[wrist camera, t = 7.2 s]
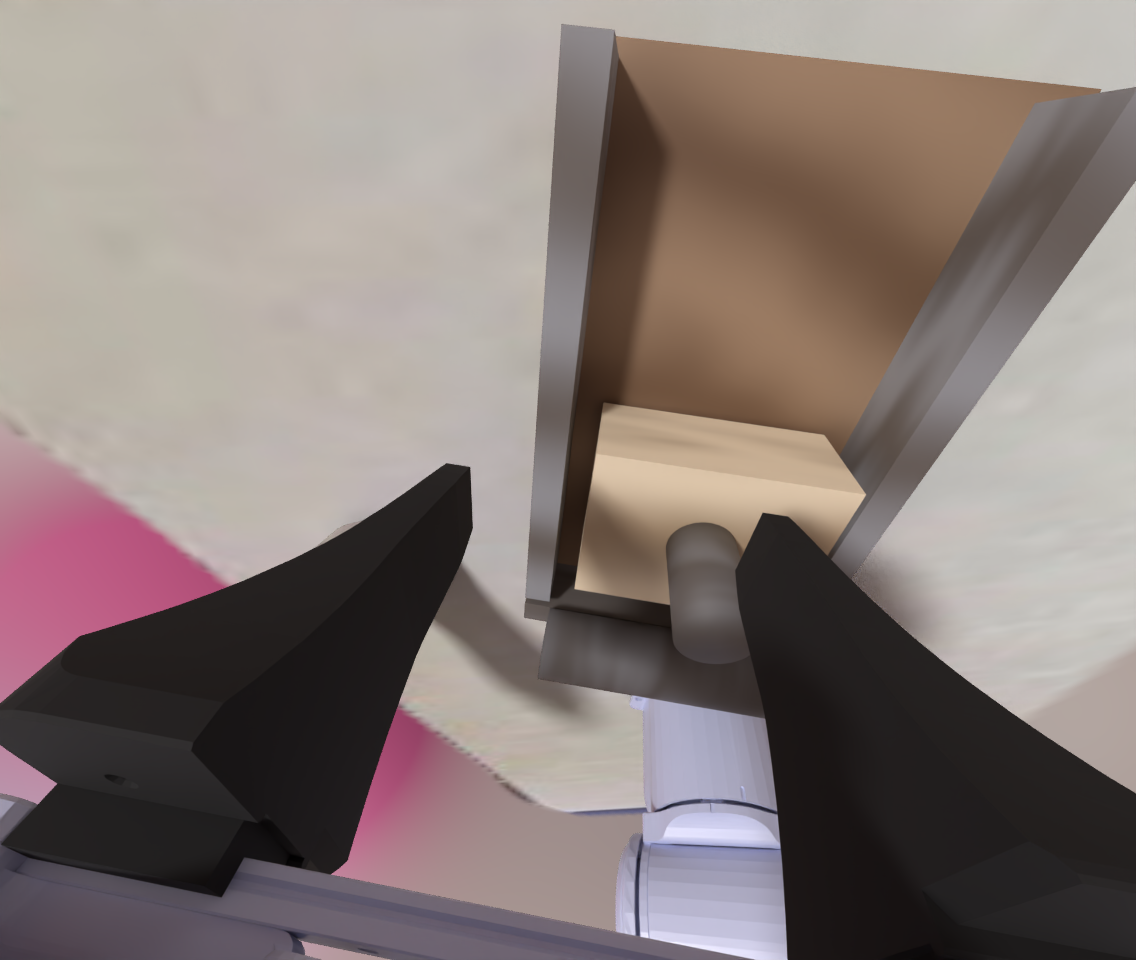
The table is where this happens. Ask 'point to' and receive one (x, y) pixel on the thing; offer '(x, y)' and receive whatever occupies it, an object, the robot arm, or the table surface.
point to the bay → (787, 284)
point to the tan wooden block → (700, 513)
